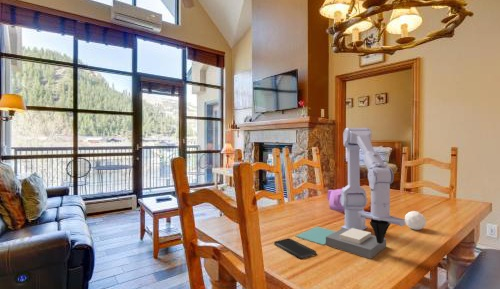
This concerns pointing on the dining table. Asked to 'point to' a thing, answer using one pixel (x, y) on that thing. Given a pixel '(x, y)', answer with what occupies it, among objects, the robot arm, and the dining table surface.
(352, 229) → the tile
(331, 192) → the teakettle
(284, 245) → the phone
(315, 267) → the dining table surface
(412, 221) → the geometric ball
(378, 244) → the block
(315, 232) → the mat
